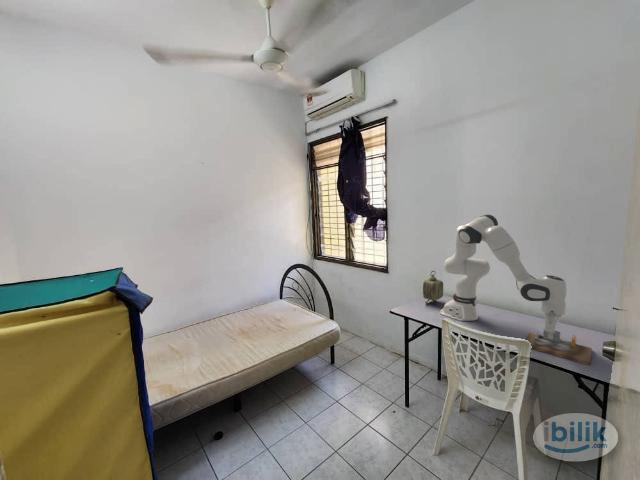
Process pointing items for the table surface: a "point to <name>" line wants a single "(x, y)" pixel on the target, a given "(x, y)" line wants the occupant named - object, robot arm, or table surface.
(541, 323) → the table surface
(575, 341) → the latch gate
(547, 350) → the rail base
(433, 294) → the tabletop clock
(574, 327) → the table surface
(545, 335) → the module
